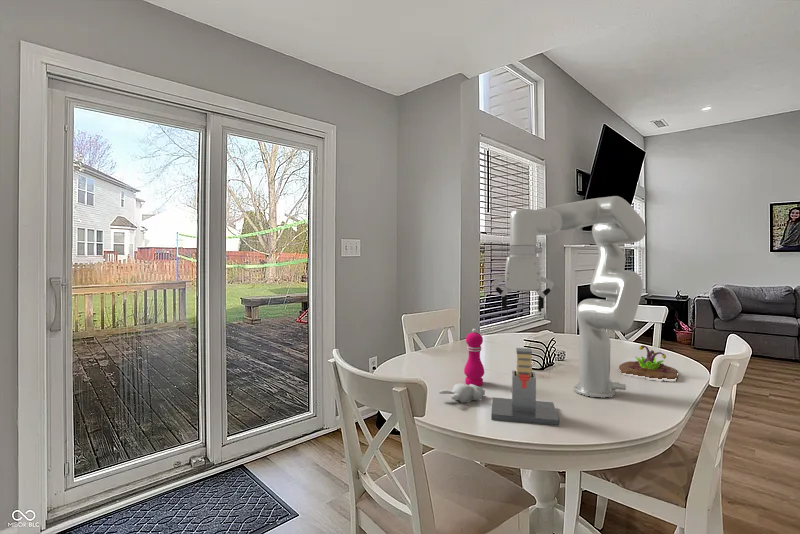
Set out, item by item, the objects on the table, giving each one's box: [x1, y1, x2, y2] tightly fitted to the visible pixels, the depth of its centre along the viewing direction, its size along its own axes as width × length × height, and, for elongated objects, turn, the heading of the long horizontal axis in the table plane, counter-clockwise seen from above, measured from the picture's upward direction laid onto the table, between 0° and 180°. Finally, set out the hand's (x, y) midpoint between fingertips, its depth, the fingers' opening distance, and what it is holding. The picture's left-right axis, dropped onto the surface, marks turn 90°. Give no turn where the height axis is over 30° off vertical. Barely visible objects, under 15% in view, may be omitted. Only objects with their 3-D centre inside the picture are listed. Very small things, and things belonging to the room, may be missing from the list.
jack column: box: [515, 347, 533, 377], centre depth 123 cm, size 4×4×17 cm
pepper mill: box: [463, 328, 485, 387], centre depth 151 cm, size 7×7×20 cm
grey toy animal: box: [438, 382, 486, 404], centre depth 135 cm, size 10×5×15 cm
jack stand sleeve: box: [490, 370, 560, 427], centre depth 124 cm, size 18×14×12 cm
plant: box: [618, 345, 679, 379], centre depth 164 cm, size 20×20×11 cm
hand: (522, 310), depth 123 cm, fingers open, 9 cm apart
